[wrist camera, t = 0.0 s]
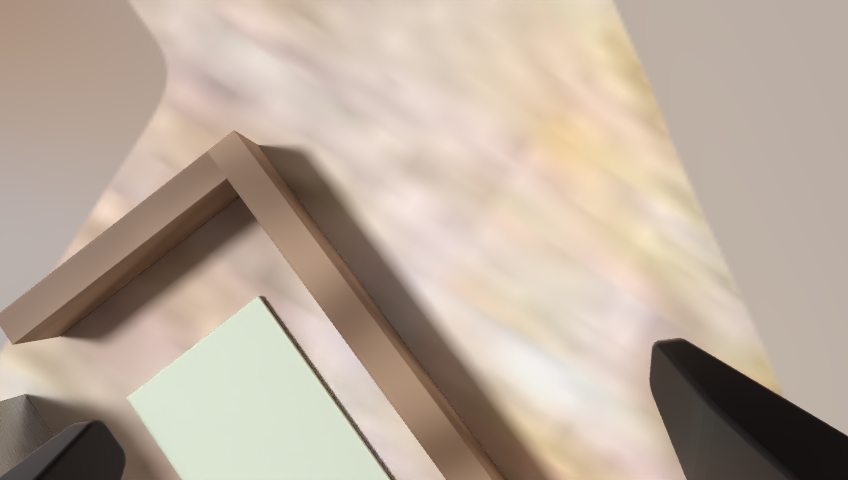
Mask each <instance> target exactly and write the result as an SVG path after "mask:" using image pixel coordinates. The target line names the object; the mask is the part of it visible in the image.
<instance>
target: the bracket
mask: <svg viewBox="0 0 848 480" xmlns="http://www.w3.org/2000/svg"><path fill="white" fill-rule="evenodd" d="M53 437H54V436H53V435H52V433H51V432H50V430H49V429H48V427H47V425H46V424H45V422H44V421H43V419H42V418H41V416H40V415H39V413H38V412H37V410H36V409H35V407H34V406H33V404H32V402H31V401H30V399H29V398H28V396H27V395H26V394H24V395H21V396H17V397H14V398H11V399H7V400H4V401H0V476H2V475H3V474H5V473H6V472H7V471H9V470H10V469H11V468H13V467H14V466H15V465H17V464H18V463H19V462H21V461H22V460H23V459H25V458H26V457H28V456H29V455H30V454H32V453H33V452H34V451H36V450H37V449H38V448H40V447H41V446H42V445H44V444H45V443H46V442H48V441H49V440H50V439H52V438H53Z"/></svg>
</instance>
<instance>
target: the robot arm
mask: <svg viewBox="0 0 848 480" xmlns="http://www.w3.org/2000/svg"><path fill="white" fill-rule="evenodd" d="M650 388H651V392H652V395H653V397H654V400H655V402H656V405H657V407H658V410H659V412H660V415H661V417H662V420H663V422H664V425H665V427H666V430H667V432H668V435H669V437H670V440H671V442H672V445H673V447H674V449H675V452H676V454H677V457H678V459H679V462H680V464H681V467H682V469H683V472H684V474H685V477H686V479H687V480H848V436H847V435H845V434H844V433H842V432H840V431H838V430H837V429H835V428H833V427H832V426H830V425H828V424H827V423H825V422H823V421H822V420H820V419H818V418H817V417H815V416H813V415H812V414H810V413H808V412H806V411H805V410H803V409H801V408H800V407H798V406H796V405H795V404H793V403H791V402H790V401H788V400H786V399H785V398H783V397H781V396H780V395H778V394H776V393H774V392H773V391H771V390H769V389H768V388H766V387H764V386H763V385H761V384H759V383H758V382H756V381H754V380H753V379H751V378H749V377H748V376H746V375H744V374H742V373H741V372H739V371H737V370H736V369H734V368H732V367H731V366H729V365H727V364H726V363H724V362H722V361H721V360H719V359H717V358H716V357H714V356H712V355H710V354H709V353H707V352H705V351H704V350H702V349H700V348H699V347H697V346H695V345H694V344H692V343H690V342H689V341H687V340H685V339H682V338H674V339H667V340H659V341H656V342H655V343H654V344H653V346H652V353H651V366H650ZM125 464H126V454H125V451H124V449H123V447H122V446H121V445H120V443H119V442H118V440H117V439H116V438H115V436H114V435H113V433H112V432H111V430H110V429H109V428H108V426H107V425H106V424H105V423H104V422H103V421H101V420H89V421H82V422H77V423H73V424H71V425H70V426H68V427H67V428H65V429H64V430H63V431H61V432H60V433H59V434H57V435H56V436H55V437H53V438H52V439H50V440H49V441H48V442H46V443H45V444H44V445H42V446H41V447H40V448H38V449H37V450H36V451H34V452H33V453H32V454H30V455H29V456H28V457H26V458H25V459H23V460H22V461H21V462H19V463H18V464H17V465H15V466H14V467H13V468H11V469H10V470H9V471H7V472H6V473H5V474H3V475H2V476H0V480H121V478H122V474H123V471H124V468H125Z"/></svg>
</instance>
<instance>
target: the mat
mask: <svg viewBox="0 0 848 480" xmlns="http://www.w3.org/2000/svg"><path fill="white" fill-rule="evenodd" d="M127 399H128V401H129V402H130V403H131V405H132V406H133V408H134V409H135V411H136V412H137V414H138V415H139V417H140V418H141V420H142V421H143V423H144V424H145V426H146V427H147V429H148V430H149V432H150V433H151V435H152V436H153V438H154V439H155V441H156V442H157V444H158V445H159V447H160V448H161V450H162V451H163V453H164V454H165V456H166V457H167V459H168V460H169V462H170V463H171V465H172V466H173V468H174V469H175V470H176V472H177V473H178V475H179V476H180V478H181V479H182V480H391V479H390V477H389V476H388V474H387V473H386V472H385V470H384V469H383V467H382V466H381V465H380V463H379V462H378V460H377V459H376V458H375V456H374V455H373V453H372V452H371V451H370V449H369V448H368V446H367V445H366V444H365V442H364V441H363V439H362V438H361V437H360V435H359V434H358V432H357V431H356V430H355V428H354V427H353V426H352V424H351V423H350V421H349V420H348V419H347V417H346V416H345V414H344V413H343V412H342V410H341V409H340V407H339V406H338V405H337V403H336V402H335V400H334V399H333V398H332V396H331V395H330V393H329V392H328V391H327V389H326V388H325V386H324V385H323V384H322V382H321V381H320V379H319V378H318V377H317V375H316V374H315V372H314V371H313V370H312V368H311V367H310V366H309V364H308V363H307V361H306V360H305V359H304V357H303V356H302V354H301V353H300V352H299V350H298V349H297V347H296V346H295V345H294V343H293V342H292V340H291V339H290V338H289V336H288V335H287V333H286V332H285V331H284V329H283V328H282V326H281V325H280V324H279V322H278V321H277V319H276V318H275V317H274V315H273V314H272V313H271V311H270V310H269V308H268V307H267V306H266V304H265V303H264V301H263V300H262V299H261V297H260V296H258V297H257V298H255V299H254V300H253V301H251V302H250V303H249V304H247V305H246V306H245V307H244V308H242V309H241V310H240V311H238V312H237V313H236V314H234V315H233V316H232V317H231V318H229V319H228V320H227V321H225V322H224V323H223V324H221V325H220V326H219V327H218V328H216V329H215V330H214V331H212V332H211V333H210V334H208V335H207V336H206V337H205V338H203V339H202V340H201V341H199V342H198V343H197V344H195V345H194V346H193V347H192V348H190V349H189V350H188V351H186V352H185V353H184V354H183V355H181V356H180V357H179V358H177V359H176V360H175V361H173V362H172V363H171V364H170V365H168V366H167V367H166V368H164V369H163V370H162V371H160V372H159V373H158V374H157V375H155V376H154V377H153V378H151V379H150V380H149V381H147V382H146V383H145V384H144V385H142V386H141V387H140V388H138V389H137V390H136V391H134V392H133V393H132V394H131V395H129V396H128V397H127Z"/></svg>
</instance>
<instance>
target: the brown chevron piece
mask: <svg viewBox="0 0 848 480" xmlns="http://www.w3.org/2000/svg"><path fill="white" fill-rule="evenodd" d="M239 196H240V197H241V198H242V200H243V201H244V203H245V204H246V205H247V207H248V208H249V209H250V211H251V212H252V214H253V215H254V216H255V218H256V219H257V220H258V222H259V223H260V225H261V226H262V227H263V229H264V230H265V231H266V233H267V234H268V236H269V237H270V238H271V240H272V241H273V242H274V244H275V245H276V247H277V248H278V249H279V251H280V252H281V253H282V255H283V256H284V258H285V259H286V260H287V262H288V263H289V264H290V266H291V267H292V269H293V270H294V271H295V273H296V274H297V275H298V277H299V278H300V279H301V281H302V282H303V284H304V285H305V286H306V288H307V289H308V290H309V292H310V293H311V295H312V296H313V297H314V299H315V300H316V301H317V303H318V304H319V306H320V307H321V308H322V310H323V311H324V312H325V314H326V315H327V317H328V318H329V319H330V321H331V322H332V323H333V325H334V326H335V328H336V329H337V330H338V332H339V333H340V334H341V336H342V337H343V339H344V340H345V341H346V343H347V344H348V345H349V347H350V348H351V349H352V351H353V352H354V354H355V355H356V356H357V358H358V359H359V360H360V362H361V363H362V365H363V366H364V367H365V369H366V370H367V371H368V373H369V374H370V376H371V377H372V378H373V380H374V381H375V382H376V384H377V385H378V387H379V388H380V389H381V391H382V392H383V393H384V395H385V396H386V398H387V399H388V400H389V402H390V403H391V404H392V406H393V407H394V409H395V410H396V411H397V413H398V414H399V415H400V417H401V418H402V419H403V421H404V422H405V424H406V425H407V426H408V428H409V429H410V430H411V432H412V433H413V435H414V436H415V437H416V439H417V440H418V441H419V443H420V444H421V446H422V447H423V448H424V450H425V451H426V452H427V454H428V455H429V457H430V458H431V459H432V461H433V462H434V463H435V465H436V466H437V468H438V469H439V470H440V472H441V473H442V474H443V476H444V477H445V479H446V480H506V479H505V478H504V476H503V475H502V474H501V472H500V471H499V470H498V468H497V467H496V466H495V464H494V463H493V462H492V460H491V459H490V458H489V456H488V455H487V454H486V452H485V451H484V449H483V448H482V447H481V445H480V444H479V443H478V441H477V440H476V439H475V437H474V436H473V435H472V433H471V432H470V431H469V429H468V428H467V427H466V425H465V424H464V423H463V421H462V420H461V418H460V417H459V416H458V414H457V413H456V412H455V410H454V409H453V408H452V406H451V405H450V404H449V402H448V401H447V400H446V398H445V397H444V396H443V394H442V393H441V391H440V390H439V389H438V387H437V386H436V385H435V383H434V382H433V381H432V379H431V378H430V377H429V375H428V374H427V373H426V371H425V370H424V369H423V367H422V366H421V364H420V363H419V362H418V360H417V359H416V358H415V356H414V355H413V354H412V352H411V351H410V350H409V348H408V347H407V346H406V344H405V343H404V342H403V340H402V339H401V338H400V336H399V335H398V333H397V332H396V331H395V329H394V328H393V327H392V325H391V324H390V323H389V321H388V320H387V319H386V317H385V316H384V315H383V313H382V312H381V311H380V309H379V308H378V306H377V305H376V304H375V302H374V301H373V300H372V298H371V297H370V296H369V294H368V293H367V292H366V290H365V289H364V288H363V286H362V285H361V284H360V282H359V281H358V280H357V278H356V277H355V275H354V274H353V273H352V271H351V270H350V269H349V267H348V266H347V265H346V263H345V262H344V261H343V259H342V258H341V257H340V255H339V254H338V253H337V251H336V250H335V248H334V247H333V246H332V244H331V243H330V242H329V240H328V239H327V238H326V236H325V235H324V234H323V232H322V231H321V230H320V228H319V227H318V226H317V224H316V223H315V222H314V220H313V219H312V217H311V216H310V215H309V213H308V212H307V211H306V209H305V208H304V207H303V205H302V204H301V203H300V201H299V200H298V199H297V197H296V196H295V195H294V193H293V192H292V190H291V189H290V188H289V186H288V185H287V184H286V182H285V181H284V180H283V178H282V177H281V176H280V174H279V173H278V172H277V170H276V169H275V168H274V166H273V165H272V164H271V162H270V161H269V159H268V158H267V157H266V155H265V154H264V153H263V151H262V150H261V149H260V147H259V146H258V145H257V144H256V143H254V142H252V141H251V140H249V139H247V138H246V137H244V136H243V135H241V134H239V133H238V132H236V131H233V132H231V133H230V134H229V135H227V136H226V137H225V138H224V139H222V140H221V141H220V142H218V143H217V144H216V145H215V146H213V147H212V148H211V149H210V150H208V151H207V152H206V153H204V154H203V155H202V156H201V157H199V158H198V159H197V160H195V161H194V162H193V163H192V164H190V165H189V166H188V167H186V168H185V169H184V170H183V171H181V172H180V173H179V174H177V175H176V176H175V177H174V178H172V179H171V180H170V181H168V182H167V183H166V184H165V185H163V186H162V187H161V188H160V189H158V190H157V191H156V192H154V193H153V194H152V195H151V196H149V197H148V198H147V199H145V200H144V201H143V202H142V203H140V204H139V205H138V206H136V207H135V208H134V209H133V210H131V211H130V212H129V213H127V214H126V215H125V216H124V217H122V218H121V219H120V220H119V221H117V222H116V223H115V224H113V225H112V226H111V227H110V228H108V229H107V230H106V231H104V232H103V233H102V234H101V235H99V236H98V237H97V238H95V239H94V240H93V241H92V242H90V243H89V244H88V245H86V246H85V247H84V248H83V249H81V250H80V251H79V252H78V253H76V254H75V255H74V256H72V257H71V258H70V259H69V260H67V261H66V262H65V263H63V264H62V265H61V266H60V267H58V268H57V269H56V270H54V271H53V272H52V273H51V274H49V275H48V276H47V277H45V278H44V279H43V280H42V281H40V282H39V283H38V284H37V285H35V286H34V287H33V288H31V289H30V290H29V291H28V292H26V293H25V294H24V295H22V296H21V297H20V298H19V299H17V300H16V301H15V302H14V303H12V304H11V305H10V306H8V307H7V308H6V309H4V310H3V311H2V312H1V313H0V326H1V328H2V329H3V331H4V332H5V334H6V335H7V337H8V338H9V340H10V341H11V343H12V345H14V344H19V343H25V342H31V341H37V340H42V339H48V338H54V337H59V336H60V335H62V334H63V333H64V332H66V331H67V330H68V329H69V328H71V327H72V326H73V325H75V324H76V323H77V322H78V321H80V320H81V319H82V318H84V317H85V316H86V315H87V314H89V313H90V312H91V311H93V310H94V309H95V308H96V307H98V306H99V305H100V304H102V303H103V302H104V301H105V300H107V299H108V298H109V297H111V296H112V295H113V294H115V293H116V292H117V291H118V290H120V289H121V288H122V287H124V286H125V285H126V284H127V283H129V282H130V281H131V280H133V279H134V278H135V277H136V276H138V275H139V274H140V273H142V272H143V271H144V270H145V269H147V268H148V267H149V266H151V265H152V264H153V263H154V262H156V261H157V260H158V259H160V258H161V257H162V256H163V255H165V254H166V253H167V252H169V251H170V250H171V249H172V248H174V247H175V246H176V245H178V244H179V243H180V242H181V241H183V240H184V239H185V238H187V237H188V236H189V235H190V234H192V233H193V232H194V231H196V230H197V229H198V228H200V227H201V226H202V225H203V224H205V223H206V222H207V221H209V220H210V219H211V218H212V217H214V216H215V215H216V214H218V213H219V212H220V211H221V210H223V209H224V208H225V207H227V206H228V205H229V204H230V203H232V202H233V201H234V200H236V199H237V198H238V197H239Z"/></svg>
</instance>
